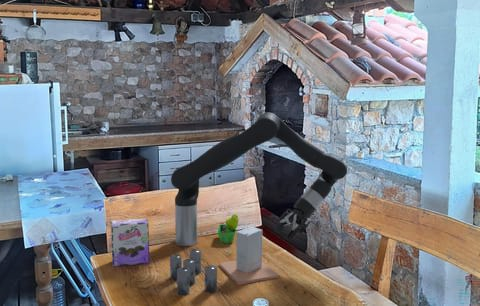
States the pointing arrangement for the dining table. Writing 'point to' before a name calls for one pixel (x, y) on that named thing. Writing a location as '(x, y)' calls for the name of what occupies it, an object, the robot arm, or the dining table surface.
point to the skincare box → (249, 249)
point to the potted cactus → (228, 230)
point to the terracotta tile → (244, 278)
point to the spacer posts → (191, 272)
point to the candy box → (130, 242)
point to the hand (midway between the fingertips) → (281, 235)
